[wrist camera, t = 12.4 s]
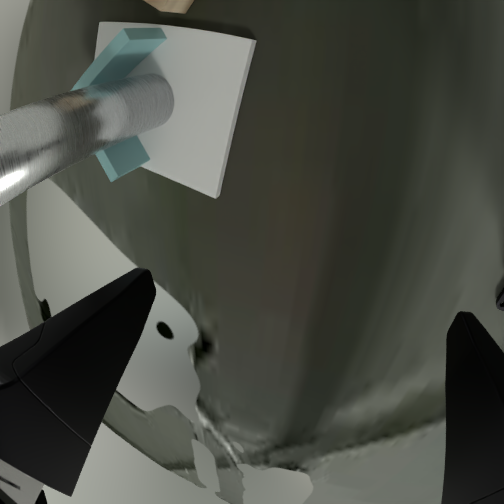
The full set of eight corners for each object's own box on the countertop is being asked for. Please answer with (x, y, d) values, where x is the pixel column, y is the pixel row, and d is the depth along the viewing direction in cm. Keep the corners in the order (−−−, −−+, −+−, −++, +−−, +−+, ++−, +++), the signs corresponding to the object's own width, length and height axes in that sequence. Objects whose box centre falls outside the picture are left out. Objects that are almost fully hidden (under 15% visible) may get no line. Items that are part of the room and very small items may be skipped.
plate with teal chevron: (256, 40, 16) (222, 37, 12) (219, 195, 23) (187, 221, 19) (105, 21, 18) (63, 25, 15) (95, 143, 25) (59, 159, 22)
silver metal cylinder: (163, 64, 18) (-63, 132, 6) (182, 117, 20) (-31, 225, 8) (124, 86, 20) (-71, 163, 8) (141, 134, 22) (-43, 236, 10)
